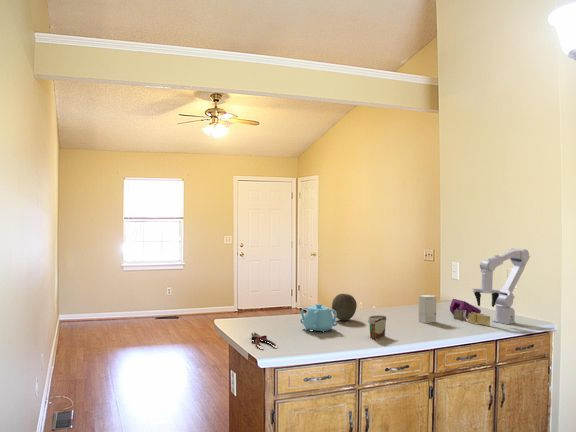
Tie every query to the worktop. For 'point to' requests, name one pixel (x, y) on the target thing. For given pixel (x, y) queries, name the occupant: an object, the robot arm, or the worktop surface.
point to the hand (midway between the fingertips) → (485, 306)
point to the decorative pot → (318, 318)
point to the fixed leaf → (460, 315)
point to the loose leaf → (479, 318)
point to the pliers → (257, 337)
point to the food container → (377, 326)
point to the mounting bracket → (463, 307)
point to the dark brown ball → (344, 306)
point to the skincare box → (427, 308)
